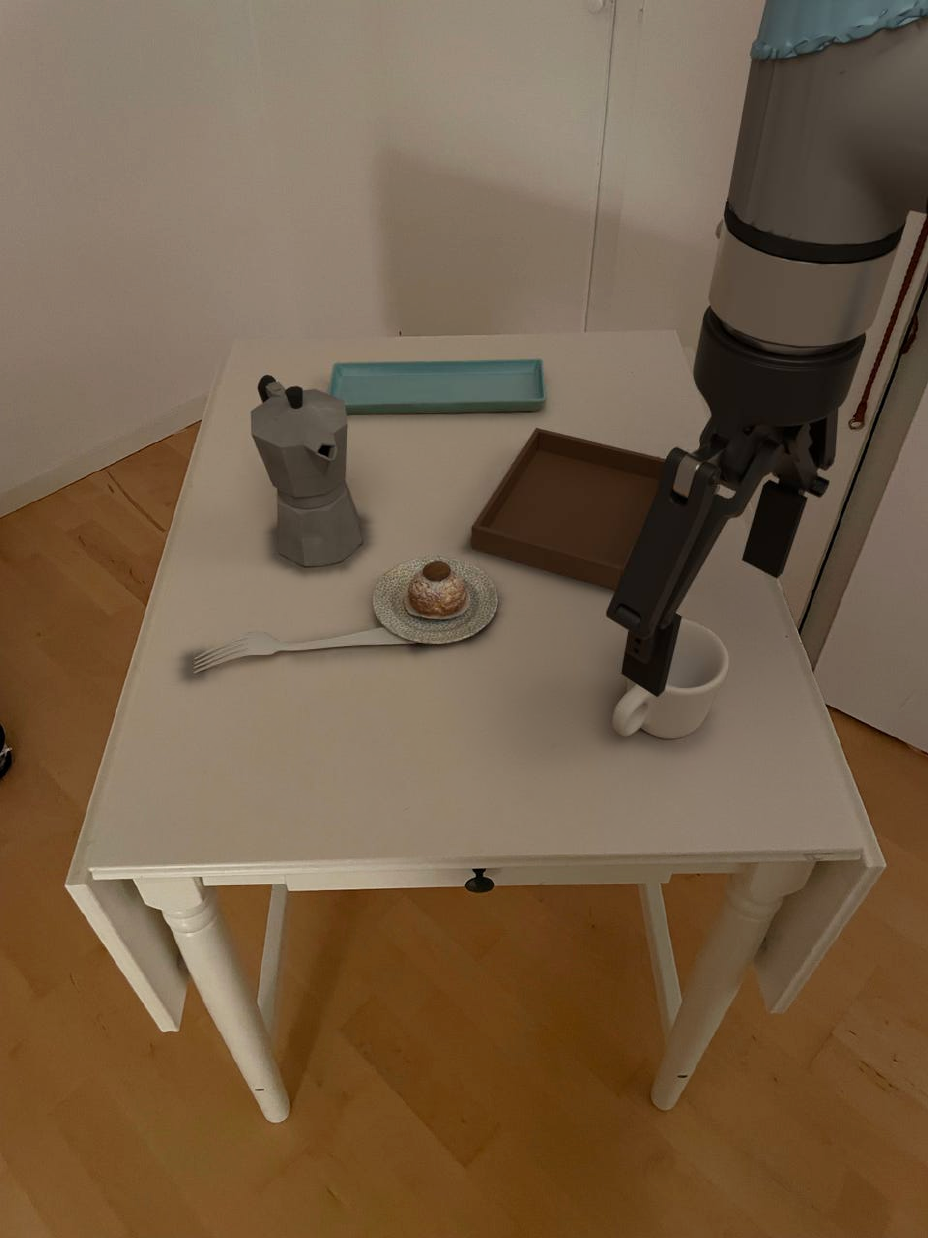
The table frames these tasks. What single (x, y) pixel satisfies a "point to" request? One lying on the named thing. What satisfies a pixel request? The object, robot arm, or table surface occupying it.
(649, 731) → the cup
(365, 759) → the table surface
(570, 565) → the tray
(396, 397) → the shallow long dish
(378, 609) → the pastry
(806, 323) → the robot arm
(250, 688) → the table surface
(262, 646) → the fork
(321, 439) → the coffeepot
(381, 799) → the table surface
